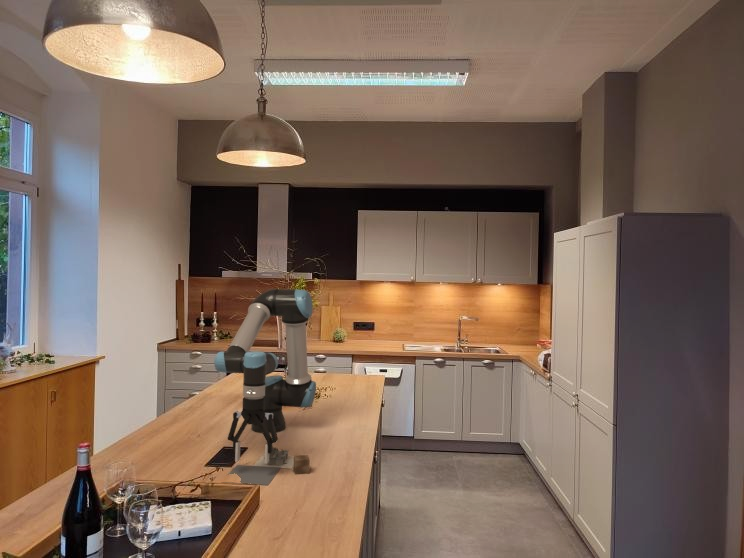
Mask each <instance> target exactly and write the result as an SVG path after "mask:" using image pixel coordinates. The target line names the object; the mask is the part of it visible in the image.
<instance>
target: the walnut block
mask: <svg viewBox="0 0 744 558" xmlns="http://www.w3.org/2000/svg"><path fill="white" fill-rule="evenodd" d="M293 457H294V466H293V467H292V469H293V473H294V475H295V476H296V475H309V474H310V460H311V459H310V457H309V454H303V455H302V454H301V455H300V454H299V455H293Z"/></svg>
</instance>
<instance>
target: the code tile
mask: <svg viewBox="0 0 744 558" xmlns="http://www.w3.org/2000/svg"><path fill="white" fill-rule="evenodd" d="M264 458H265V454H262V456H260V458H258V460H257V461H256V462H255V463H254V464H253V466H265V467H281V468H280V469H291V470H292V469H293V467H294V456H289V455H288V458H287V459H286V461H285V462H283V465H279V466H277V465H266V464H265V459H264Z"/></svg>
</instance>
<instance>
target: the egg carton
mask: <svg viewBox="0 0 744 558" xmlns="http://www.w3.org/2000/svg"><path fill="white" fill-rule="evenodd" d="M289 451H290V449H286V448H285V449H283V448H282V449H281V450H279V449H278V447H274V445H272V452H271V453H269V462H268V463H267V464H266V465H277V466H279V465H283V462H285V461H286V459H287V458H288V456H289ZM264 459H265V458H264Z"/></svg>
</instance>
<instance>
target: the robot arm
mask: <svg viewBox="0 0 744 558" xmlns="http://www.w3.org/2000/svg"><path fill="white" fill-rule="evenodd" d="M311 295H312V294H310V292H309V291H308V290H307V289H306V290H305V289H299V288H297V289H293V288H291V289H290V288H287V289H285V288H270V289H268V290H266V291H264V292H262V293H260V294H258V296H257V297H255V298H254V299H253V300H252V301H251V303H250V304H249V306H248V308H247V314H246V316H245V318H244V320H243V321H242V323H241V325H240V327H239V328H238V330H237V332H236V334H235V335H234V338H233V339H232V341H231V342H230V344H229V346H228V347H227V349H226V351H225V350H224V351H219V352H217V353H216V354H215V356H214V357H215V358H214V362H213V363H214V367H215V370H216V371H217V372H220V373H225V374H243V382H242V383H243V384H242V396H243V398H242V410H241V411H238V410H236V411H234V412H233V413H232V422H231V425H230V430H229V432H228V436H227V440H228V441H231V442H232V452H234V453H235V454H234V456H235V457H234V461H235V462H234V463H238V462H239V461H240V460H241V440H240V437H241V435H242V434H243V432H244V431H245V429H246V427H247V426H248V425H251V427H250V428H251V431H254V432H256V433H261V434H262V436H263V437H264V438H265V442H266V443H265V446H264V455H265V464H267V463H268V462H269V453H271V452H272V446H273V444H275V443H276V442H278V440H279V438H278V437H279V436H278V431H279V432H282V431H284V430H285V429H286V421H285V417H284V413H283V407H290V408H291V407H292V408H300V409H301V408H310V407H312V405H313V402H314V400H315V396H316V393H317V392H316V391H317V382H316V381H314V380H312V376H311V374H309V372H308V371H309V369H308V353H307V352H308V351H307V347H308V346H307V330H306V328H307V327H306V324H307V323H308V322H309V320H310V318H311V317H312V316H313V313H314V312H313V311H314V310H313V309H314V306H313V304H314V303H313V299H312V298H313V297H312V296H311ZM270 317H280V318H281V322H282V324H284V326H285V338H286V356H287V357H286V358H287V359H286V360H287V374H288V375H286V377H283V375H279V374H278V375H277V374H276V375H269V374H271V373H273V372H274V371H275V370H277V368H278V366H279V359H278V357H277V356H276V354H274V353H273V352H264V351H259V350H256V351H255V350H253V351H250V350H251V348H252V347H253V344H254V343H255V341H256V338H257V337H258V335H259V333H260V331H261V329H262V327H263V325H264V323H265V322H267V321H268V320H269V319H270ZM267 375H269V376H267ZM241 417H242V418H243V422H242V423H241V425H240V426H239V429H238V430H237V426H238V424H239V423H238V422H239V421H240V420H239V419H240V418H241ZM236 430H237V431H236ZM281 430H282V431H281ZM235 432H236V434H235Z"/></svg>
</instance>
